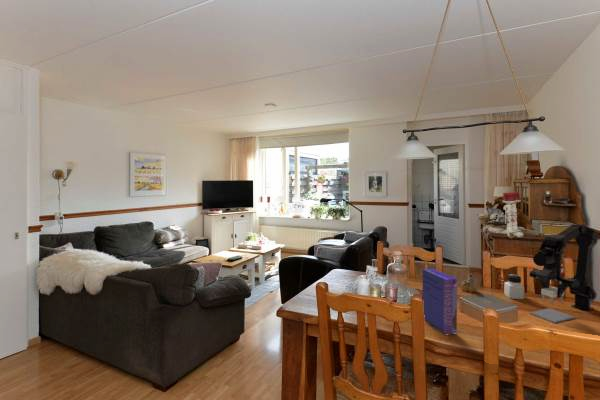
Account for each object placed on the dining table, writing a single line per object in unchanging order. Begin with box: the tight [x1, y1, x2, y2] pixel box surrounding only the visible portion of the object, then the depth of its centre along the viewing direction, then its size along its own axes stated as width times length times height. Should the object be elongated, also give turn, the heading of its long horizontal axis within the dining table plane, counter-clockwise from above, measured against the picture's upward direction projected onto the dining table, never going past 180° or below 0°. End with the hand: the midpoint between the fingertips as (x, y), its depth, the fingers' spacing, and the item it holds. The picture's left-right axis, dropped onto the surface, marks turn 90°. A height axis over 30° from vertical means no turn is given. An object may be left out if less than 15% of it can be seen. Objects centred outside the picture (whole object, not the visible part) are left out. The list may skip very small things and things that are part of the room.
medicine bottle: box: [503, 274, 525, 300], centre depth 175 cm, size 7×7×12 cm
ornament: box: [460, 274, 478, 294], centre depth 185 cm, size 8×6×10 cm
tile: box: [529, 308, 576, 324], centre depth 150 cm, size 14×11×1 cm
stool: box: [540, 286, 565, 305], centre depth 149 cm, size 5×8×6 cm, turn 109°
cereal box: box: [422, 267, 458, 335], centre depth 141 cm, size 17×5×24 cm, turn 12°
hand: (552, 296), depth 149 cm, fingers closed on stool, 5 cm apart
